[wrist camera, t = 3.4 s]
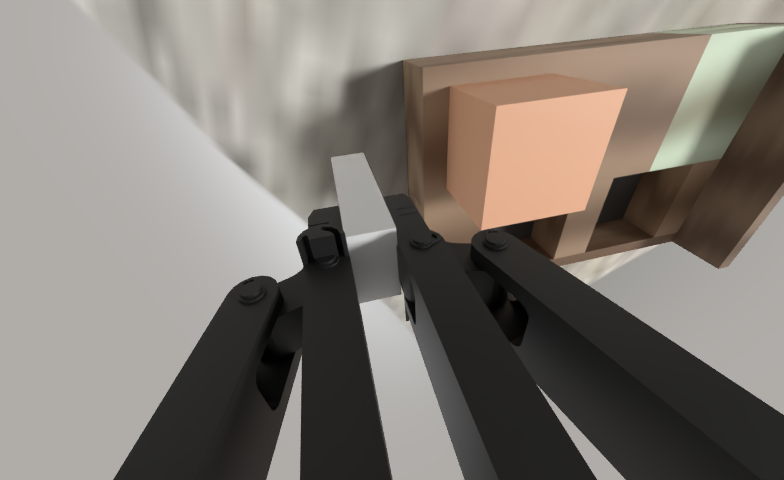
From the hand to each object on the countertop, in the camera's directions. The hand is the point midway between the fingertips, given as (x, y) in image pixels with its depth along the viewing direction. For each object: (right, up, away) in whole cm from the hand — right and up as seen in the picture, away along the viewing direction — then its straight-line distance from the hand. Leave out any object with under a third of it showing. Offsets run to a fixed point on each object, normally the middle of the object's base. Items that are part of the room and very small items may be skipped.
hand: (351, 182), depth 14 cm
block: (+8, +4, +4) cm, 10 cm away
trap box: (+15, +4, +10) cm, 19 cm away
